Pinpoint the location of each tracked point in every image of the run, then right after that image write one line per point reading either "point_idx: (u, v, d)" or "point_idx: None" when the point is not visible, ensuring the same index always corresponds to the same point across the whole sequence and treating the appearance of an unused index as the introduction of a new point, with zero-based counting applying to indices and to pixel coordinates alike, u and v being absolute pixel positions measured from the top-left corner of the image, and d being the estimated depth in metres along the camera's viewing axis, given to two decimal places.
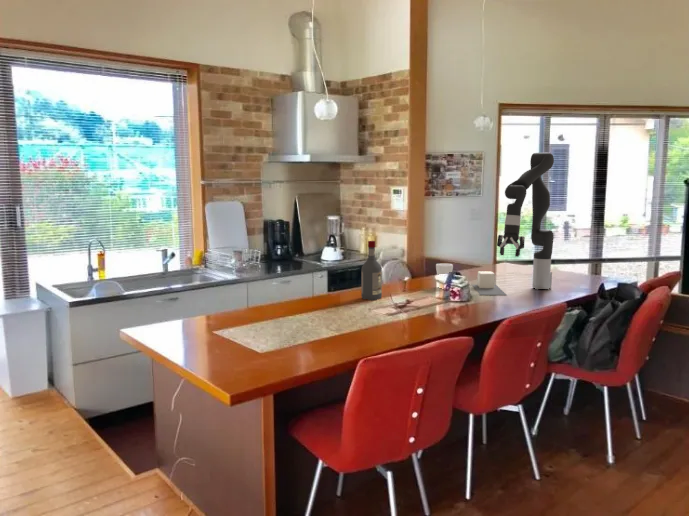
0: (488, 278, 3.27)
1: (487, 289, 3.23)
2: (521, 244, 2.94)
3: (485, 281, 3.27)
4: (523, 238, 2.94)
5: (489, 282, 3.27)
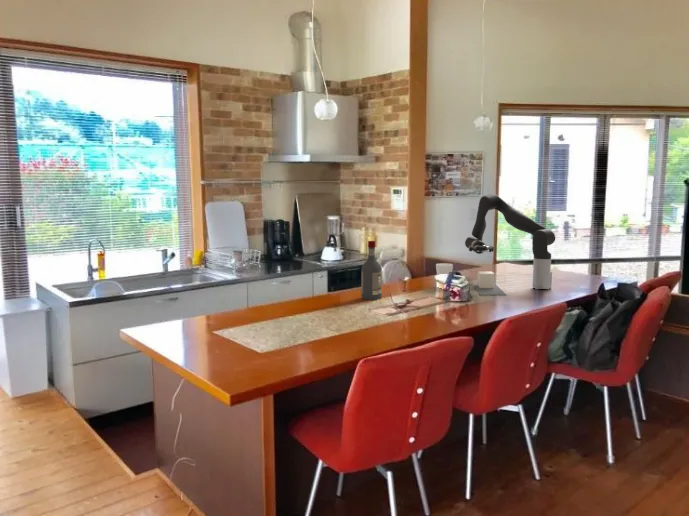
0: (488, 278, 3.27)
1: (487, 289, 3.23)
2: (469, 250, 3.44)
3: (485, 281, 3.27)
4: (468, 247, 3.47)
5: (489, 282, 3.27)
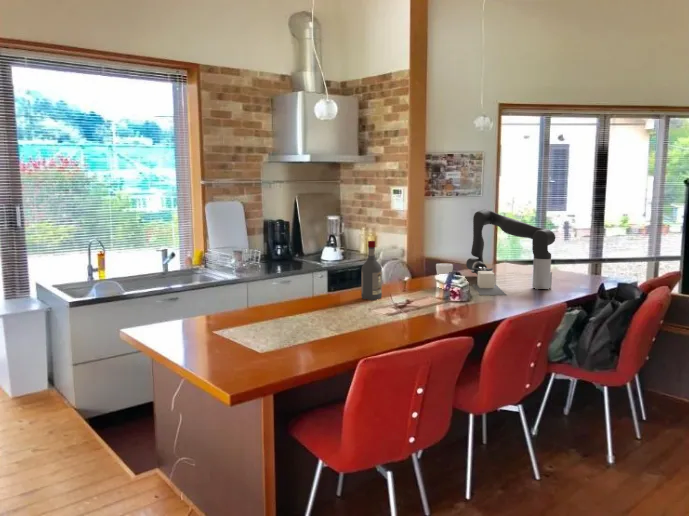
0: (488, 278, 3.26)
1: (487, 289, 3.23)
2: (476, 273, 3.40)
3: (485, 281, 3.27)
4: (472, 270, 3.42)
5: (489, 282, 3.27)
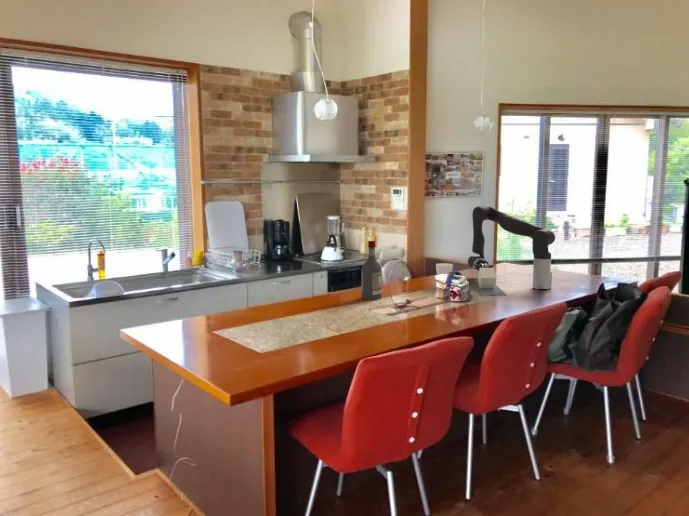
0: (489, 281, 3.24)
1: (487, 289, 3.23)
2: (478, 269, 3.35)
3: (486, 283, 3.25)
4: (473, 266, 3.37)
5: (490, 284, 3.25)
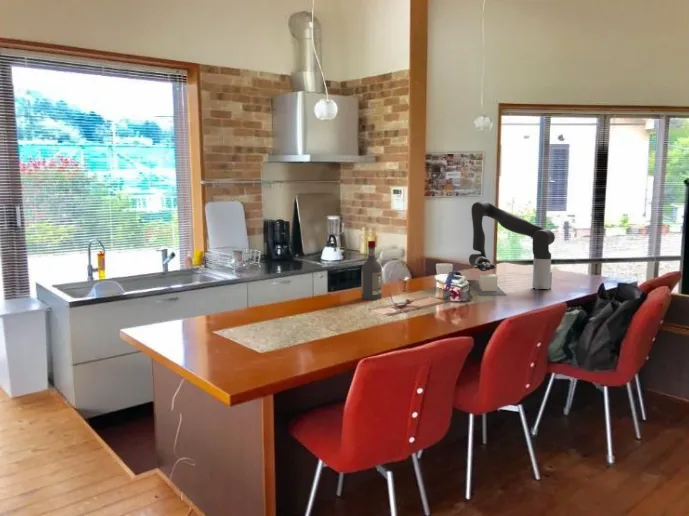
0: None
1: None
2: (479, 268, 3.30)
3: None
4: (475, 265, 3.32)
5: None
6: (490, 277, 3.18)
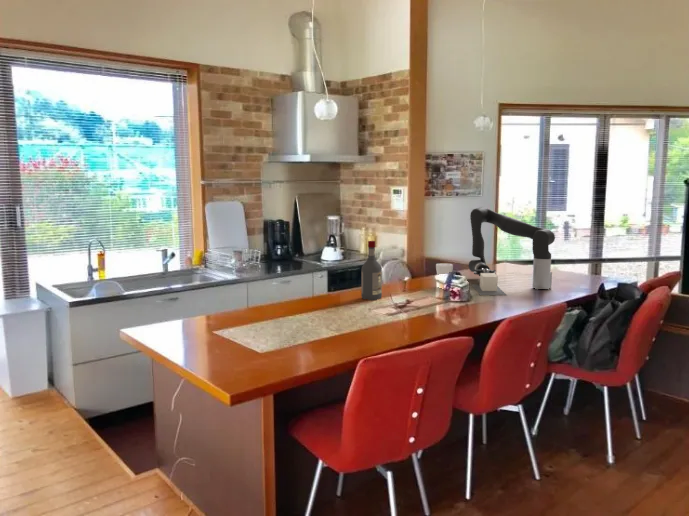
0: None
1: None
2: (479, 274, 3.32)
3: None
4: (474, 271, 3.34)
5: None
6: (490, 277, 3.18)
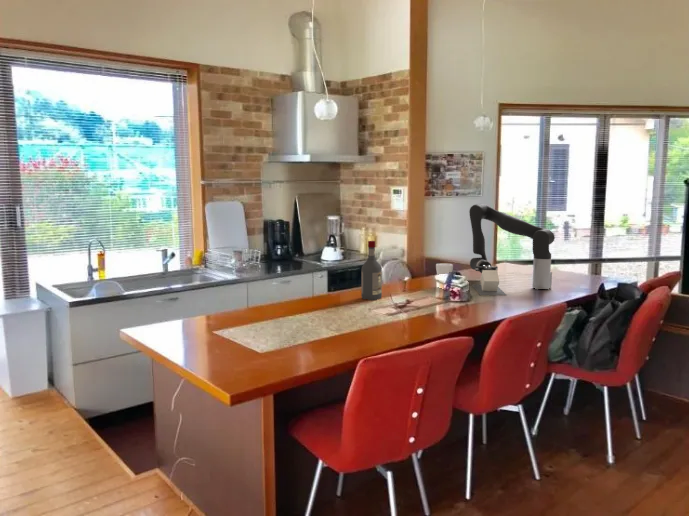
0: None
1: None
2: (480, 271, 3.26)
3: None
4: (476, 268, 3.29)
5: None
6: (492, 281, 3.14)
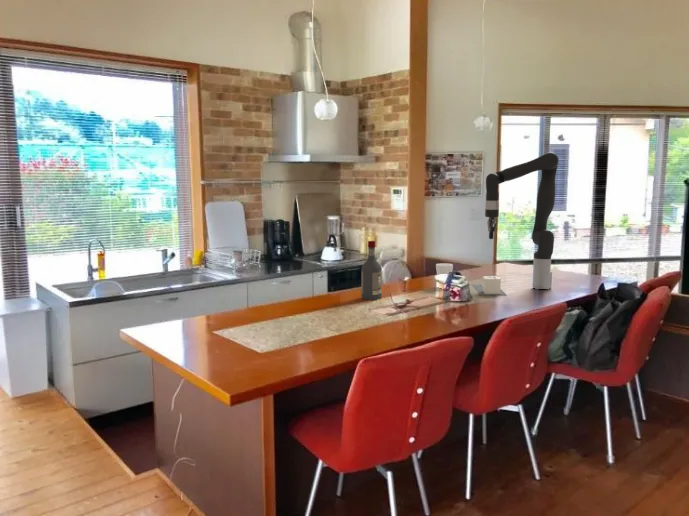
0: None
1: None
2: (490, 229, 3.30)
3: None
4: (493, 225, 3.28)
5: None
6: (492, 293, 3.12)
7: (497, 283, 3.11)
